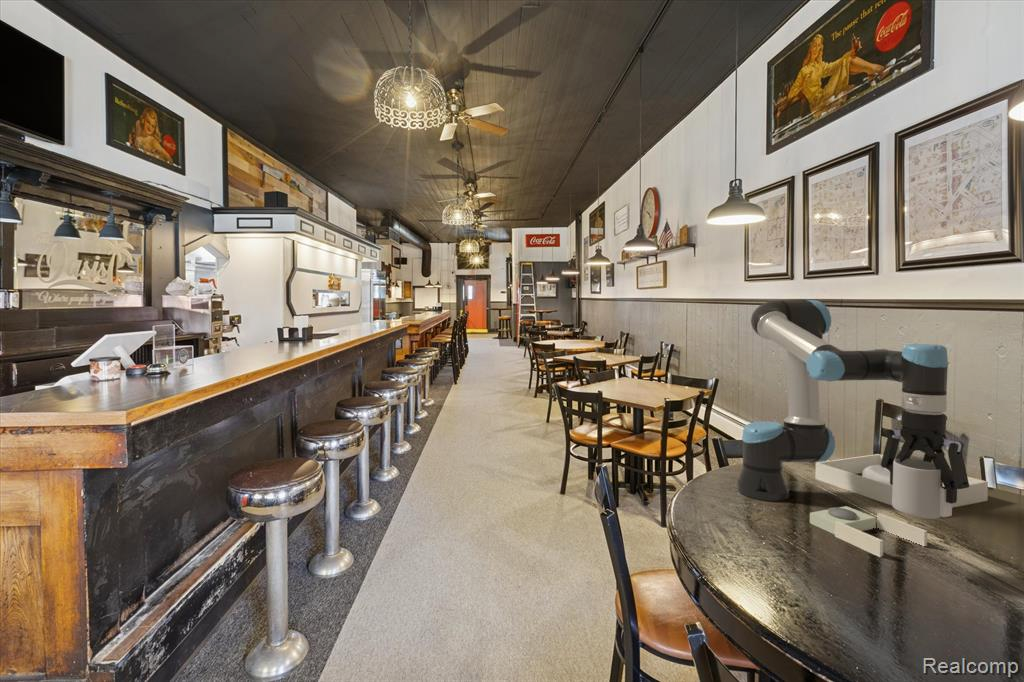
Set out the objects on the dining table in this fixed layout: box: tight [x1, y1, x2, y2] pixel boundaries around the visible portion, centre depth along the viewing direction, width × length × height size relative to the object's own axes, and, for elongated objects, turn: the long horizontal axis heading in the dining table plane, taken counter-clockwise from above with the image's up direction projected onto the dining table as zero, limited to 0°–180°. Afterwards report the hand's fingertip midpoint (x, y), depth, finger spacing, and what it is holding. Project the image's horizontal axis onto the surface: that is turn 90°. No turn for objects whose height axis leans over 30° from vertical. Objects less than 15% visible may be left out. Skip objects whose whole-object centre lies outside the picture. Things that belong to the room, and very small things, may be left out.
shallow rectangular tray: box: [814, 453, 989, 509], centre depth 147 cm, size 32×32×6 cm
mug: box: [891, 458, 943, 520], centre depth 102 cm, size 12×8×11 cm
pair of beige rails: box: [809, 505, 928, 558], centre depth 117 cm, size 19×16×4 cm
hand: (921, 507), depth 101 cm, fingers closed on mug, 8 cm apart
